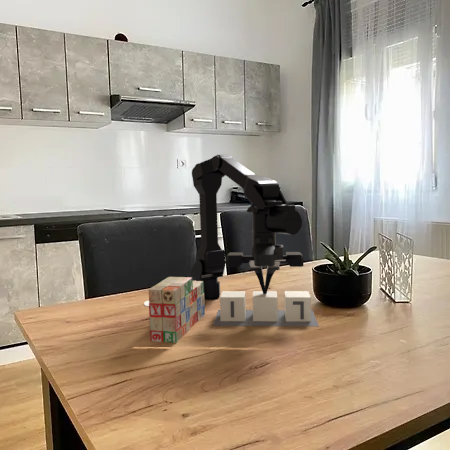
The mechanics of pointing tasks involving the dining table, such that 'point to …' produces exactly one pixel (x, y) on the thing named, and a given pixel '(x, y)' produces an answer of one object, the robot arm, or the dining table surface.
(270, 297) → the blank block
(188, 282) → the stack of blocks
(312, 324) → the tap mat
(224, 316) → the digit block 1
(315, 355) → the dining table surface
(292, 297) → the digit block 7
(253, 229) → the robot arm
